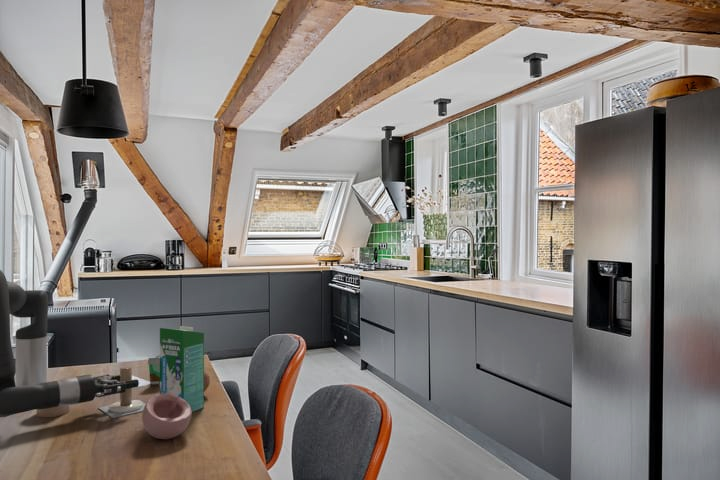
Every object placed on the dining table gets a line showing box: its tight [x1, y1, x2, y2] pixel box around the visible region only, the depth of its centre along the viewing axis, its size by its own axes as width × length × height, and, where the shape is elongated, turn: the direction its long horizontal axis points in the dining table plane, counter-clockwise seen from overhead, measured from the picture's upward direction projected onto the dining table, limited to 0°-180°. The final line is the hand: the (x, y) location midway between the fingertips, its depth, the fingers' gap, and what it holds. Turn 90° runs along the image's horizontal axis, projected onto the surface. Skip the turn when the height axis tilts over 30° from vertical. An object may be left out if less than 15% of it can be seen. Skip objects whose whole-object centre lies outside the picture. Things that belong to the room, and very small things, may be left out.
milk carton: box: [159, 325, 205, 413], centre depth 162 cm, size 9×9×25 cm
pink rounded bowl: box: [141, 393, 193, 440], centre depth 140 cm, size 12×12×12 cm
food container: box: [147, 355, 160, 387], centre depth 192 cm, size 12×6×10 cm, turn 168°
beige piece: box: [108, 366, 143, 413], centre depth 163 cm, size 9×9×12 cm
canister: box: [35, 405, 70, 418], centre depth 159 cm, size 8×8×7 cm
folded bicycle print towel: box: [95, 374, 150, 397], centre depth 189 cm, size 19×20×2 cm
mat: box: [98, 399, 147, 419], centre depth 163 cm, size 12×12×1 cm
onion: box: [204, 370, 211, 392], centre depth 176 cm, size 10×9×10 cm
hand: (132, 380), depth 164 cm, fingers open, 8 cm apart
